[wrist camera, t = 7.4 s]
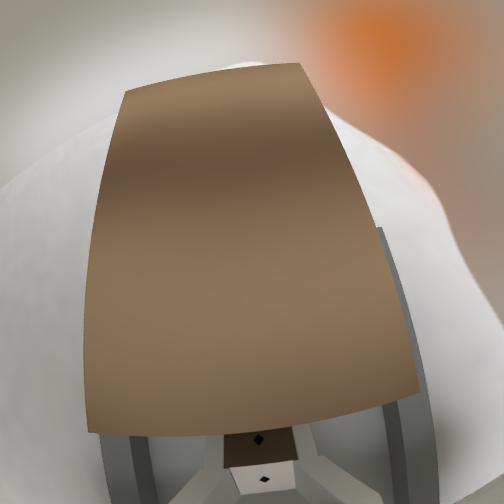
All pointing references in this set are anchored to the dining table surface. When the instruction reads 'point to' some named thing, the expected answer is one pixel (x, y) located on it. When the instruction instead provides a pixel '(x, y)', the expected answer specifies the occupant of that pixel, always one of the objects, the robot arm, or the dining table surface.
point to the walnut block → (235, 266)
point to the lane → (326, 441)
